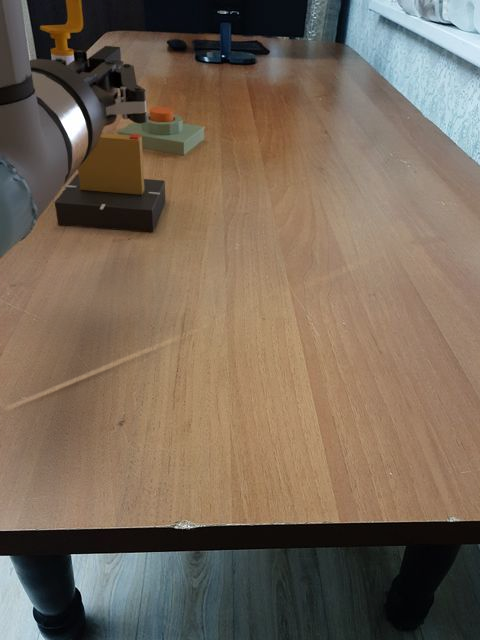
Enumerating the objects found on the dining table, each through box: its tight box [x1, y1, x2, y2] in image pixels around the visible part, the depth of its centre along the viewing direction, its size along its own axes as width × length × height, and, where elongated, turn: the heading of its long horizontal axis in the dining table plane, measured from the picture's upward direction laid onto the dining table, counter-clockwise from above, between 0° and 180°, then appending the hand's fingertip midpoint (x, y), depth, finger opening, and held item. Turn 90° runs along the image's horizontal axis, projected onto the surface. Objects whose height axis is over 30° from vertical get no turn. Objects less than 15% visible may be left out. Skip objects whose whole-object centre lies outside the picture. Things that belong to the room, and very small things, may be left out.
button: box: [149, 106, 174, 122], centre depth 98 cm, size 4×4×2 cm
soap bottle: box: [39, 0, 84, 65], centre depth 86 cm, size 9×9×25 cm
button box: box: [117, 112, 205, 156], centre depth 99 cm, size 12×10×4 cm
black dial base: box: [54, 173, 166, 233], centre depth 75 cm, size 12×12×3 cm
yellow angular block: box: [77, 132, 145, 195], centre depth 72 cm, size 8×2×7 cm, turn 89°
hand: (113, 60), depth 59 cm, fingers closed
